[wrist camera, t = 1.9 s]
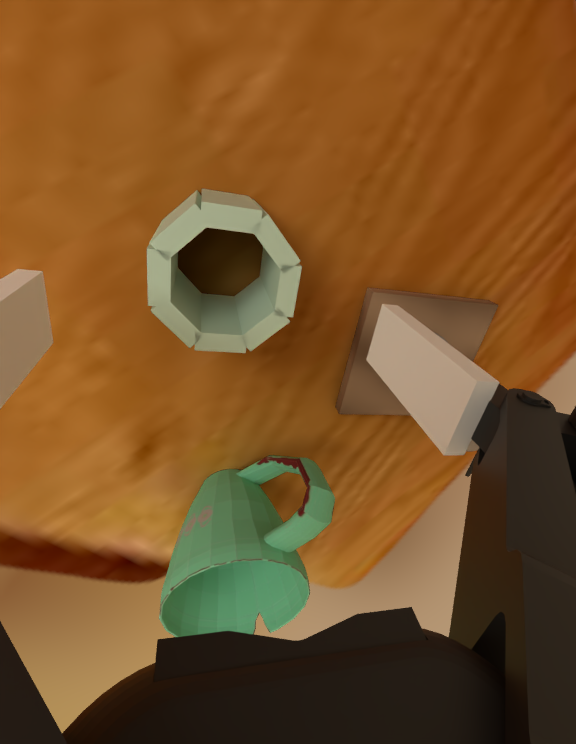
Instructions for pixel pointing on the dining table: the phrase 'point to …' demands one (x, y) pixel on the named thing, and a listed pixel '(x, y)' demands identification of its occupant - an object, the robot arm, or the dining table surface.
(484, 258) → the dining table surface
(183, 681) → the robot arm
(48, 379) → the dining table surface
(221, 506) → the mug
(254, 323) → the pale green hollow tube
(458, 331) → the shaft block
